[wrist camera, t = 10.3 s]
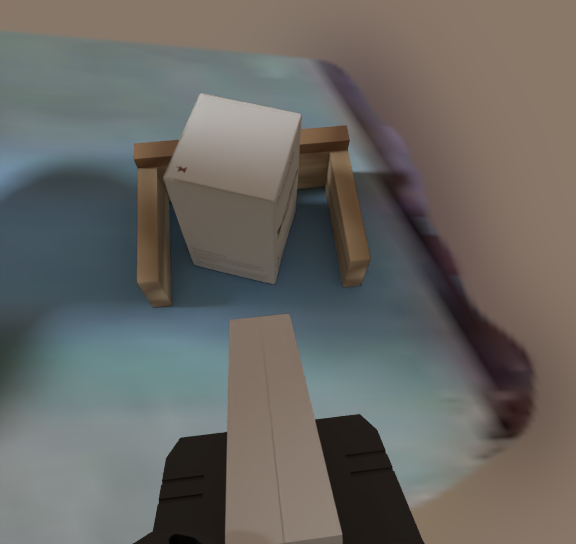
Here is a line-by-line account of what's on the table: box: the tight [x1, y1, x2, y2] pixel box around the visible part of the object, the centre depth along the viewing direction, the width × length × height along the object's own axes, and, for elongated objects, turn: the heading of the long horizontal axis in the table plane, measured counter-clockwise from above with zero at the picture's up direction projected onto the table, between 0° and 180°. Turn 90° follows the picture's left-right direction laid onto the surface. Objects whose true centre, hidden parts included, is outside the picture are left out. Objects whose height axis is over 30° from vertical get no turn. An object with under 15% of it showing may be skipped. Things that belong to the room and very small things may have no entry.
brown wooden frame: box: [134, 126, 371, 308], centre depth 40 cm, size 17×12×6 cm
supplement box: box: [163, 93, 302, 284], centre depth 37 cm, size 7×7×13 cm
